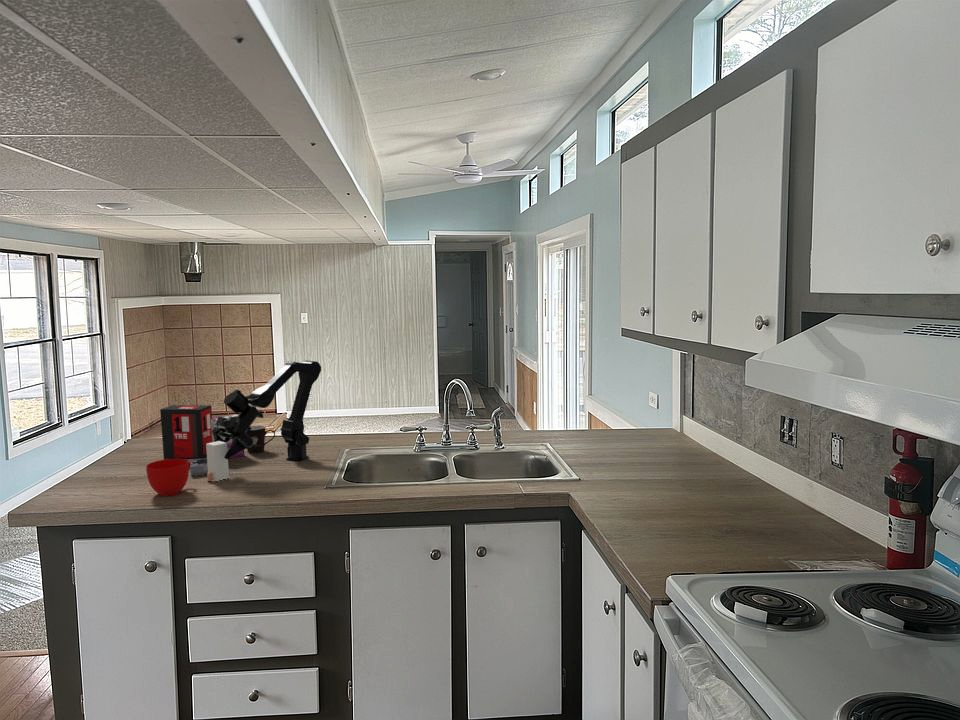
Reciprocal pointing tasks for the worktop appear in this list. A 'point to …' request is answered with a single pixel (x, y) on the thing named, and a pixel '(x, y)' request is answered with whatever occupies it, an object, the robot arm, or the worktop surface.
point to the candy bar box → (229, 443)
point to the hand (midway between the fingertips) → (218, 456)
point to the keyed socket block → (198, 466)
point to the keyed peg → (217, 461)
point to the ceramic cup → (168, 475)
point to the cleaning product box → (186, 431)
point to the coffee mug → (258, 438)
